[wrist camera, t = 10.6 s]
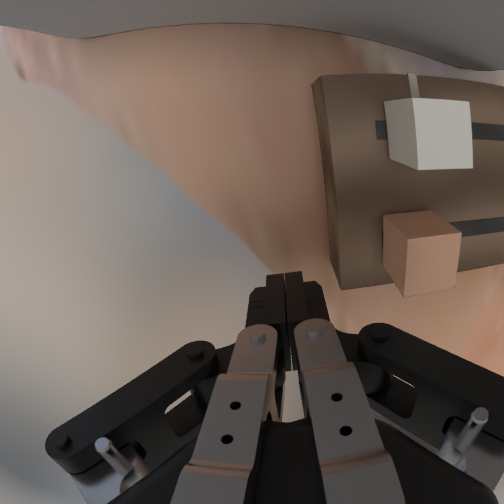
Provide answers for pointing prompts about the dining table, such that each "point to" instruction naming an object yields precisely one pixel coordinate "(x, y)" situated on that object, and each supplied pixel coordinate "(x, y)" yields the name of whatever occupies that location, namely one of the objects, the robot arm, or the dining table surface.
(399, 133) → the block
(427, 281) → the block
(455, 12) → the rounded white slab
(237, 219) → the dining table surface
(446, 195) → the console
